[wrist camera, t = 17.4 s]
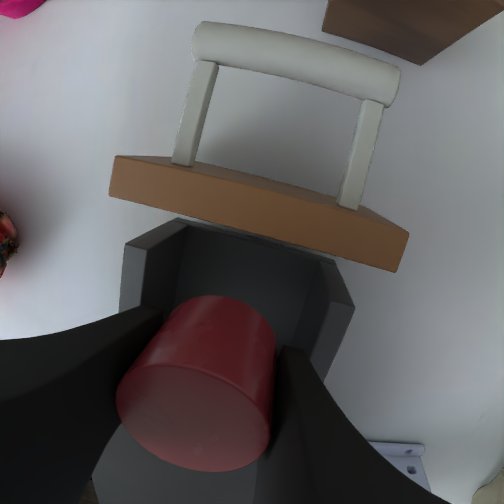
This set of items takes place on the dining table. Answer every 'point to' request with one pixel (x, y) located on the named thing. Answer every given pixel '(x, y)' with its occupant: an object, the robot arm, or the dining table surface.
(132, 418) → the coffee pod
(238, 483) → the open grey box
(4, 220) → the dragon fruit
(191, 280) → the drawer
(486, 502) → the jawbone
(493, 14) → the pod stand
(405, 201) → the dining table surface
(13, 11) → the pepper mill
